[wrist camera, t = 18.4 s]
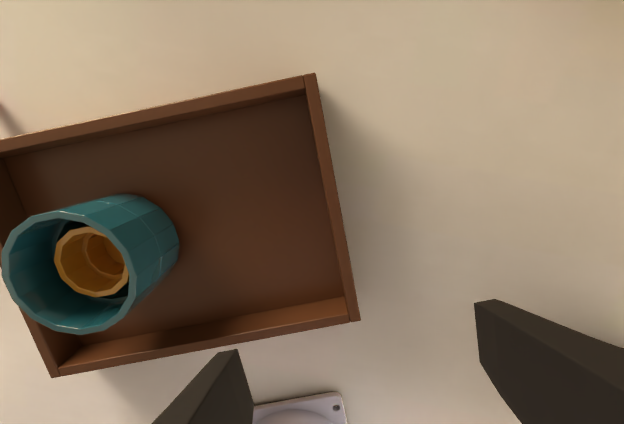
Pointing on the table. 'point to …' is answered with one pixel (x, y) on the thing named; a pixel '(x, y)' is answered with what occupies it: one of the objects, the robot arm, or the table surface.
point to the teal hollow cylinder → (119, 230)
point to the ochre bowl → (90, 262)
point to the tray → (200, 218)
